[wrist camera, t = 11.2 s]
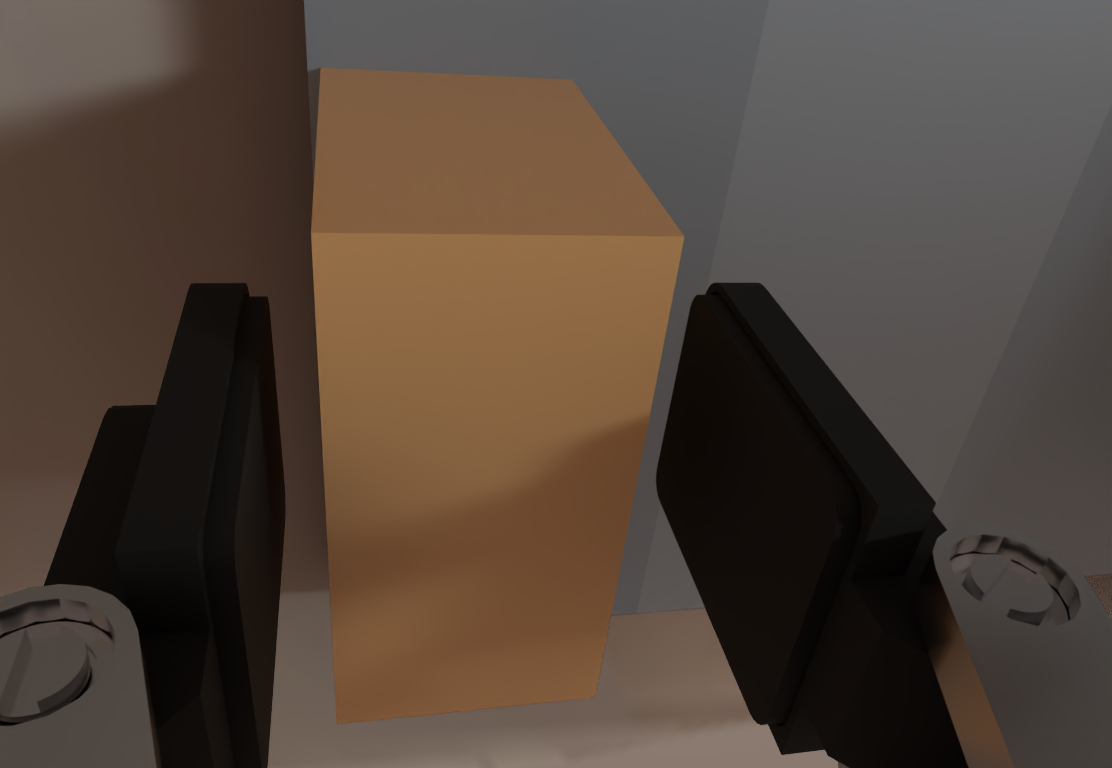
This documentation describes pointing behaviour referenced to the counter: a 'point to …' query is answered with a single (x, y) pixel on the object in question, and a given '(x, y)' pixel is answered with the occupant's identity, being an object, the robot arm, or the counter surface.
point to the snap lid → (679, 292)
